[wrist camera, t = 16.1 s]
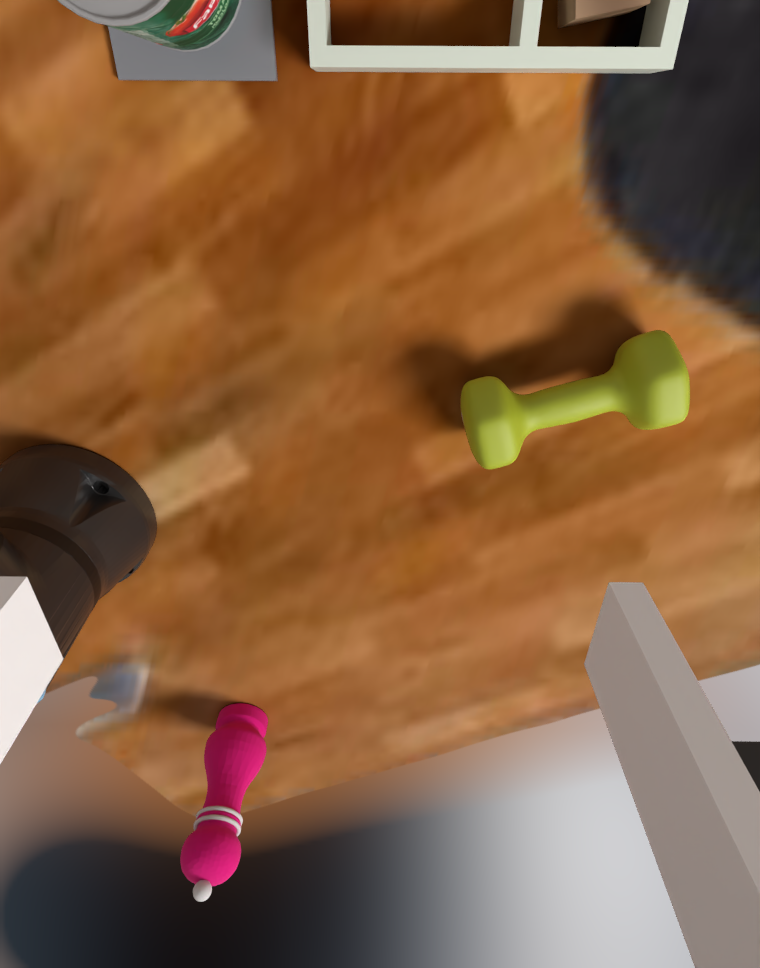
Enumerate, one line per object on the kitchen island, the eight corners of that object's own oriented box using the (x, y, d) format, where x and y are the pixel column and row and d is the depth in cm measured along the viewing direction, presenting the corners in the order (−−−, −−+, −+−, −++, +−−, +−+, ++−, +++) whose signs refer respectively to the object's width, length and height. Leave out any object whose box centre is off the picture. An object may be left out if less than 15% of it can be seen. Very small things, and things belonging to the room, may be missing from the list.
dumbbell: (468, 448, 50) (479, 493, 44) (449, 366, 46) (459, 403, 40) (659, 402, 48) (698, 443, 42) (657, 311, 44) (700, 342, 38)
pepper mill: (210, 728, 73) (157, 910, 56) (220, 694, 69) (167, 878, 52) (265, 739, 74) (229, 921, 57) (278, 707, 70) (244, 890, 54)
